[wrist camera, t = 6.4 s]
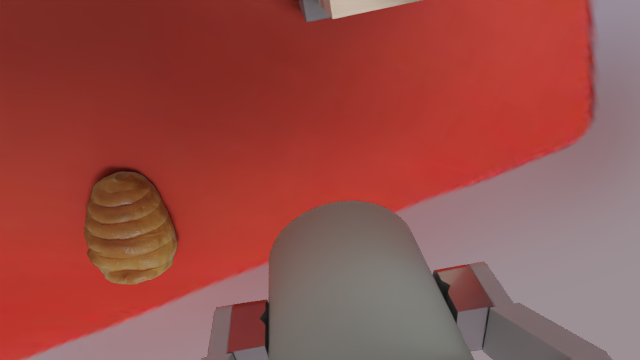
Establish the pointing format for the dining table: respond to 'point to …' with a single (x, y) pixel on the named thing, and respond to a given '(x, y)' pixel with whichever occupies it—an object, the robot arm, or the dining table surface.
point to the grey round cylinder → (356, 290)
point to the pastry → (129, 229)
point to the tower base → (312, 10)
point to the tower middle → (357, 6)
